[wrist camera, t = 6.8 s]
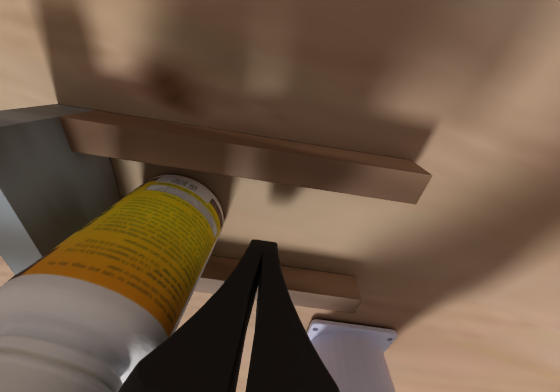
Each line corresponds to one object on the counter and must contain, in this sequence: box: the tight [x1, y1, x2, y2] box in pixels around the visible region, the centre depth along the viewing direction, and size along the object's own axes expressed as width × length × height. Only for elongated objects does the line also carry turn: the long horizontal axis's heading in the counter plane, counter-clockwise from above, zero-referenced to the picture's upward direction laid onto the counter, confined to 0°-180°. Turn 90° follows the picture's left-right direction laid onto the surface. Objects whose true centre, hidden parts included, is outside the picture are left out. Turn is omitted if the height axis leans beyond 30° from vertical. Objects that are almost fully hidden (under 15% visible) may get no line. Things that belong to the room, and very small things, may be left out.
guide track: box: [0, 104, 432, 313], centre depth 12 cm, size 11×19×5 cm, turn 82°
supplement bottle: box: [0, 175, 224, 392], centre depth 9 cm, size 6×6×10 cm
